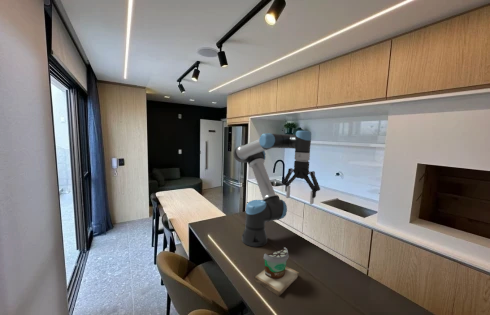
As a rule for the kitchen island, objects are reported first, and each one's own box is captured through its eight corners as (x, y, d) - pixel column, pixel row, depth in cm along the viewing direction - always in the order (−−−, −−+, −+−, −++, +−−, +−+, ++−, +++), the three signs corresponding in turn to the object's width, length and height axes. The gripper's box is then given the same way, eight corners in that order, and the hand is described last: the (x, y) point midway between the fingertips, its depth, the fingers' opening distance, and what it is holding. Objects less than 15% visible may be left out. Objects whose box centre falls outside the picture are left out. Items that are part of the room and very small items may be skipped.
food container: (271, 284, 81) (272, 261, 80) (262, 275, 86) (263, 253, 85) (293, 275, 87) (295, 253, 86) (284, 267, 93) (285, 246, 92)
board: (254, 281, 85) (254, 276, 85) (275, 264, 97) (275, 260, 97) (279, 296, 77) (279, 291, 77) (298, 276, 89) (298, 272, 89)
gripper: (277, 158, 110) (275, 196, 112) (323, 163, 93) (319, 208, 95) (284, 158, 115) (282, 194, 117) (328, 162, 99) (325, 204, 101)
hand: (299, 200), depth 106 cm, fingers open, 13 cm apart
